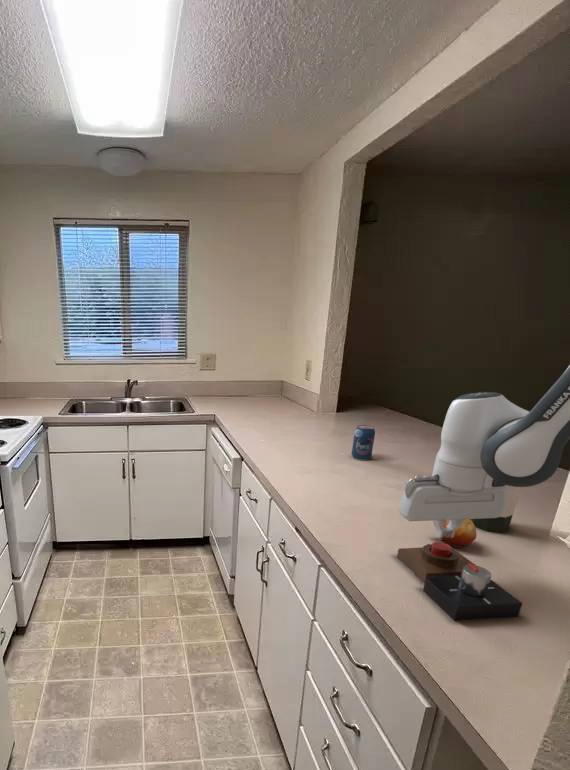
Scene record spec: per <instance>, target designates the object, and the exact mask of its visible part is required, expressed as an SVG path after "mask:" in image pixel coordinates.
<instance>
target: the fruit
mask: <svg viewBox="0 0 570 770" xmlns="http://www.w3.org/2000/svg"><path fill="white" fill-rule="evenodd" d="M450 521H451V520H446V523H445V524H443V527H446V526H447V525H448V524H449V522H450ZM476 539H477V527H475V525H474V524H473V522H472V521H471V520H470V519H464V520H463V524H462V525H461V526H460V527H459V528H458V529H457V530H456V531H455V533H454V537H453V538H438V537H435V538H434V540H441V541H443V543H446V544H448V545H450V546H453V547H455V548H463V547H466V546H468V545H470V544H472V543H473V542H474V541H475V540H476Z"/></svg>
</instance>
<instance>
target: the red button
mask: <svg viewBox="0 0 570 770" xmlns="http://www.w3.org/2000/svg"><path fill="white" fill-rule="evenodd" d="M431 544H432V547H431V552H432V553H433V554H435V555H438V556H442V557H450V555H451V551H452V548H453V547H452V545H450V544H447V543H446V542H441V541H434V542H432V543H431Z"/></svg>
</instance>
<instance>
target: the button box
mask: <svg viewBox="0 0 570 770" xmlns="http://www.w3.org/2000/svg"><path fill="white" fill-rule="evenodd" d="M431 547H432V543H428V544H425V545H423V546H422V547H404V548H402V547H401V548H397V553H396V554H397V555H396V558H397V559H398V560H399V561H400V562H401V563H402V564H404V565H405V566H406V568H408V569H409V570H410V571H411V572H412V573H413V574H414V575H415V576H416V577H418V578H419V579H420V580H421V581H422V582H423V583H424V584H425V579H426V578H430V577H450V576H461V572H462V568H463V566H465V565H468V563H471V564H473V565H476V563H473V562H472V561H471V560H470V559H468V558H467V557H465V556H464V555H463V554H461V552H458V550H456V549H455V548H454V547H452V551H451V555H450V557H442V556H438V555H435V554H433V553H432V552H431Z"/></svg>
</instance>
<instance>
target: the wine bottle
mask: <svg viewBox="0 0 570 770" xmlns="http://www.w3.org/2000/svg"><path fill="white" fill-rule="evenodd" d="M523 409H524V408H523ZM524 410H526V411H528V409H524ZM506 488H507V490H508V497H507V502H506V505H505V509H504V511H503V513H502V514H501V515H500V516H499V517H498V518H482V519H470V520H471V521H472V522H473V524H474V525H475V528H476V529H477V528H478V529H480V530H483V531H486V532H493V533H500V534H501V533H504V532H507V531H509V529H510V525H511V522H512V520H513V517H514V512H515V508H516V505H517V503H518V498H519V495H520V493H521V490H522V489H521V488H522V487H513V486H508V487H506Z"/></svg>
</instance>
